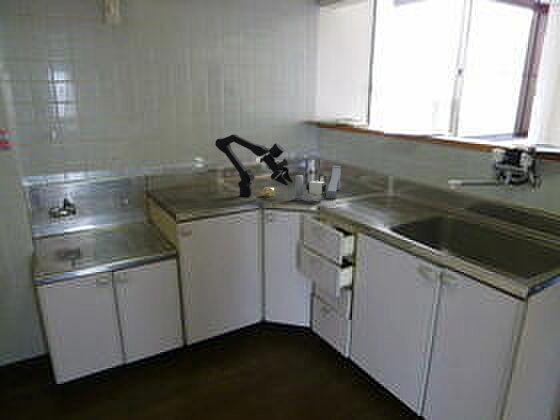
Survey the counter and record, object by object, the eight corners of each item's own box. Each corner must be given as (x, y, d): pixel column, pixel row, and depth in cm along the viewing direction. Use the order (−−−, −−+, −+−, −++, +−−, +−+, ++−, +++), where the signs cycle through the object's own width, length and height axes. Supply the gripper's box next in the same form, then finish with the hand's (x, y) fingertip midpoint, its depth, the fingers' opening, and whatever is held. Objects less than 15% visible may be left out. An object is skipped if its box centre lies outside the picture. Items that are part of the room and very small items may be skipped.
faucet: (336, 213, 232) (342, 184, 254) (336, 191, 222) (342, 162, 244) (326, 212, 234) (333, 183, 256) (325, 190, 223) (332, 162, 245)
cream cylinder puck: (262, 196, 230) (262, 188, 228) (265, 194, 236) (265, 186, 235) (272, 197, 228) (272, 189, 227) (275, 195, 234) (275, 187, 233)
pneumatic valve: (324, 202, 215) (325, 181, 212) (305, 200, 220) (306, 179, 217) (328, 200, 219) (329, 180, 216) (309, 198, 225) (310, 178, 222)
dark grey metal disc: (292, 200, 220) (292, 198, 219) (294, 198, 226) (294, 196, 226) (303, 201, 218) (303, 199, 218) (305, 198, 224) (305, 197, 224)
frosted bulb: (294, 199, 219) (295, 176, 216) (293, 197, 224) (294, 175, 221) (304, 199, 219) (304, 176, 216) (303, 196, 225) (303, 174, 221)
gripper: (276, 155, 210) (295, 177, 210) (286, 152, 227) (303, 172, 227) (262, 169, 215) (281, 190, 214) (273, 165, 232) (290, 184, 231)
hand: (289, 183), depth 222 cm, fingers open, 9 cm apart
